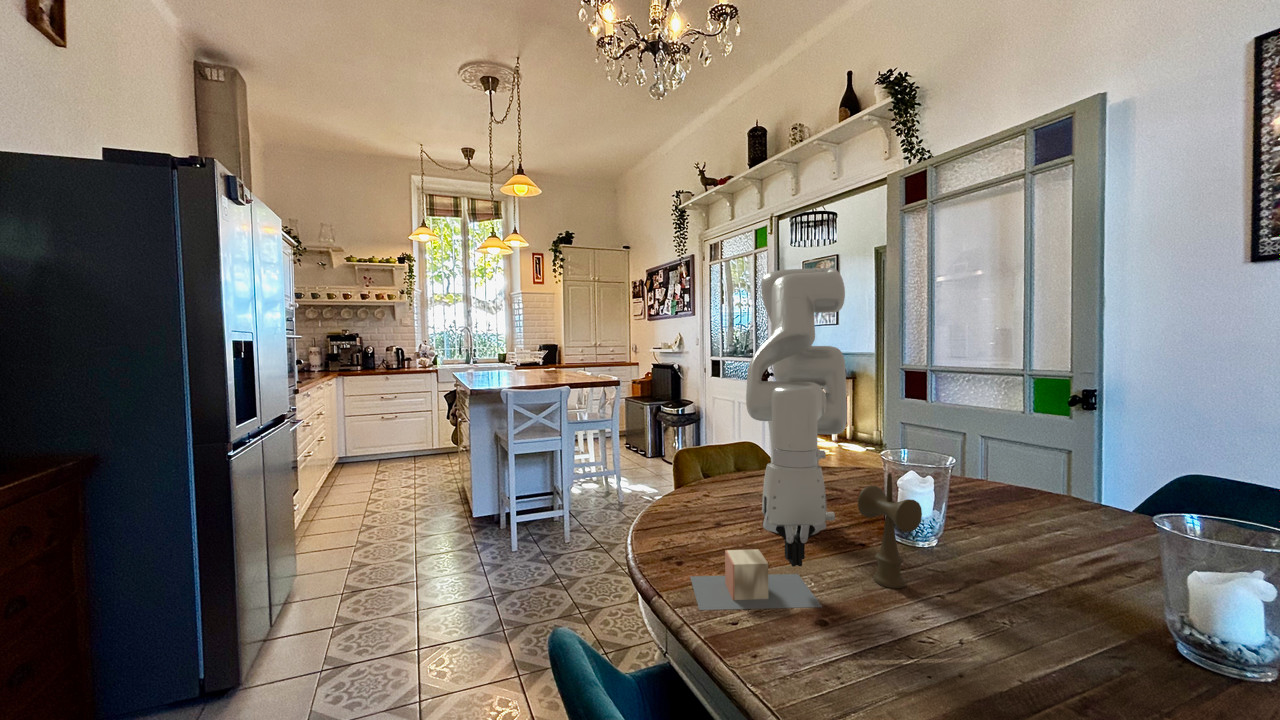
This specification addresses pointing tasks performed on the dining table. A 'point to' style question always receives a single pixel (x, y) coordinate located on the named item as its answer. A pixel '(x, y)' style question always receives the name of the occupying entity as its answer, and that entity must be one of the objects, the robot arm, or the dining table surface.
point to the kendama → (889, 529)
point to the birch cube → (746, 574)
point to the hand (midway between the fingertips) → (794, 562)
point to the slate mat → (780, 595)
